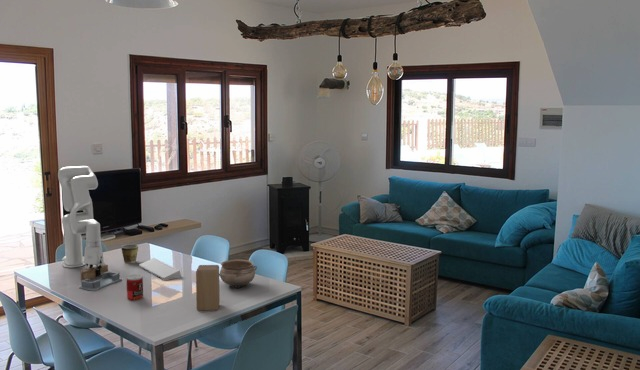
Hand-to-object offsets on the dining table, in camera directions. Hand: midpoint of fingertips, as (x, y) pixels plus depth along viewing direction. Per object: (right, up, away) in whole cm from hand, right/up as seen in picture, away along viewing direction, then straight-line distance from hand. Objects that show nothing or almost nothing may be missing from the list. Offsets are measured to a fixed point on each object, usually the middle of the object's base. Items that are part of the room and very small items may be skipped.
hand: (94, 275), depth 316 cm
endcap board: (+9, -3, -13) cm, 16 cm away
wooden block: (+73, -8, -47) cm, 87 cm away
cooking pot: (+82, -4, -12) cm, 83 cm away
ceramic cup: (+8, +3, +32) cm, 33 cm away
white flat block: (+34, -1, +11) cm, 35 cm away
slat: (0, -1, 0) cm, 1 cm away
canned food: (+34, -6, -35) cm, 49 cm away
